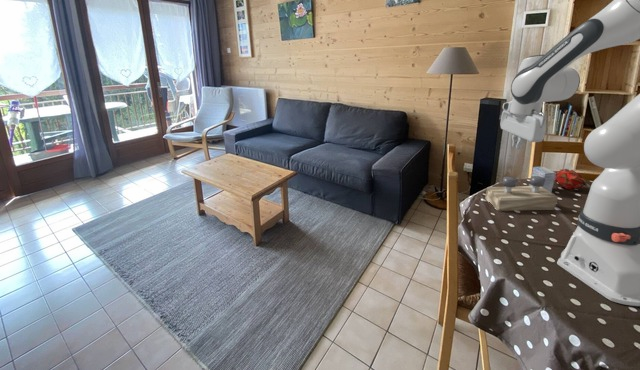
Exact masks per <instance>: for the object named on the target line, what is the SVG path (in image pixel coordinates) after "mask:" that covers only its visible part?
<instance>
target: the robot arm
mask: <svg viewBox="0 0 640 370" xmlns="http://www.w3.org/2000/svg"><path fill="white" fill-rule="evenodd" d="M638 40H640V0H612V1H611V2H610V3H609V4H607V5H606V6H605V7H603V8H602V9H601V10H600V11H598V12H597V13H596V14H594V15H593V16H592V17H590V18H589V19H588V20H585V21H584V22H583V23H581V24H579V26H577V27H576V28H574V29H573V30H572V31H570V32H569V33H568V34H567V35H565V37H563V38H562V39H561V40H559V42H557V43H556V44H555V45H554V46H553V47H552V48H550V49H549V50H548V51H547V52H546V53H545V54H538V55H535V54H534V55H530V56H527V57H525V58H523V59H522V61H521V63H520V66H519V68H518V70H517V74H516V75H515V77H514V78H513V80H512V82H511V85H510V92H511V95H512V97H511V100H510V101H507V102H504V103H503V104H502V111H501V116H500V117H501V118H500V130H503V131H505V132H508V133H510V134H511V139H512V143H511V144H512V145H511V146H512V148H515V149H516V150H522V148H523V145H524V143H525V142H527V141H529V142H531V143H541V142H542V141H544V139H545V135H546V130H547V119H546V116H545V113H544V112H542V108H543V104H544V103H548V102H549V103H550V102H551V103H552V102H560V101H561V102H562V101H565V100H568V99H570V98H572V97H573V96H574V95H575V94H576V93H577V91H578V89H579V87H580V84H581V77H580V74H579V72H578V71H577V69H574V68H571V67H569V66H570V65H572V64H573V63H574V62H575V61H577V60H580V58H582V57H584V56H586V55H589V54H591V53H594V52H598V51H601V50H604V49H608V48H612V47H613V48H614V47H618V46H624V45H627V44H631V43H633V42H636V41H638ZM583 151H584V154H585V157H586V158H587V159H588V160H589V162H590V163H591V164H593V165H594V166H597V167H599V168H604V170H602V172H601V173H600V175H598V176H597V177H596V178H595V179H594V180H593V182H592V183H591V185H590V188H589V192H588V195H587V198H586V201H585V204H584V206H583V207H584V208H582V209H581V211H580V212H579V214H578V217H577V221H576V223H577V227H576V229H575V230H574V231H573V233H572V234H571V236H570V239H569V240H568V243H567V245H566V247H565V249H563V250H562V251H561V253H560V257H559V258H558V260H557V262H556V264H557V265H558V266H559V267H561V268H562V269H563V270H565V271H566V272H568V273H569V274H571V275H572V276H574V277H576V278H577V280H580V281H581V282H582V283H584V284H585V285H587V286H588V287H590V288H591V289H593V290H594V291H596V292H597V293H599V295H601V296H603V297H604V298H606V299H608V300H609V301H611V302H614V303H616V304H617V303H618V304H621V305H626V306H632V307H640V93H639V94H637V95H636V96H635V97H634V98H633V99H631V100H630V101H629V102H628V103H627V104H625V105H624V106H623V107H622V108H621V109H620V110H619V111H617V112H616V113H615V114H614V115H613V116H612V117H611V118H609V119H608V120H607V121H606V122H604V123H603V124H601V125H600V126H598V127H597V128H595V129H593V130H591V132H589V133H588V134H587V136H586V138H585V140H584V144H583Z"/></svg>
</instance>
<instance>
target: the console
mask: <svg viewBox="0 0 640 370" xmlns="http://www.w3.org/2000/svg"><path fill="white" fill-rule="evenodd" d="M504 189H505V186H488V187H486V193H485V197H484V199H485V200H486V202H488V203H489V202H490V203H491V204H492V205H493V206H492V205H491V204H490V203H489V204H490V205H491V206H492V207H493V208H495V209H496V210H497V212H499V211H501V212H502V211H542V210H545V211H546V210H547V211H549V210H550V211H551V210H553V211H554V210H555V209H556V207H557V206H556V205H557V201H558V199H559V196H557V195H556V194H554V193H553V192H549V191H548V190H546V189H544V188H543V187H540V188H539V192H538V193H533V192H532V191H531V190H532V186H529V185H526V186H525V185H524V186H523V185H522V186H519V185H518V186H517V185H516V187H512V190H511V193H505V192H504Z"/></svg>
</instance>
